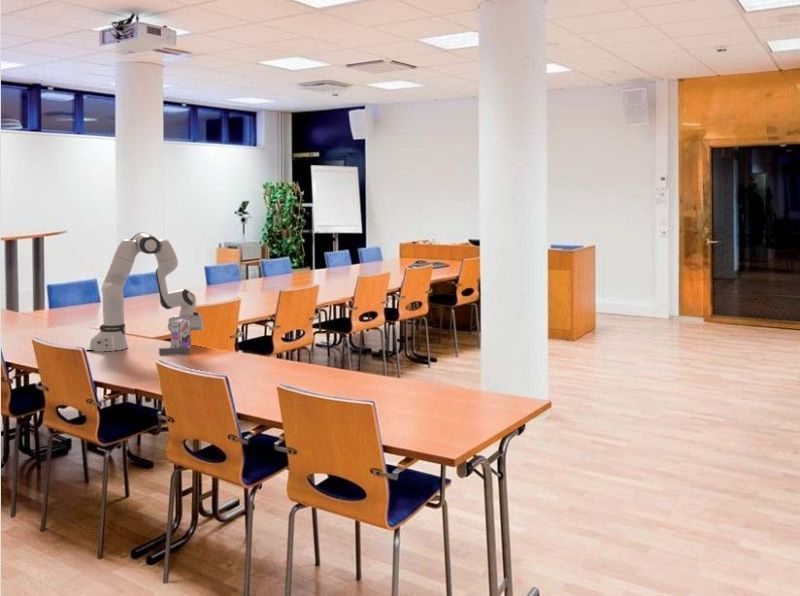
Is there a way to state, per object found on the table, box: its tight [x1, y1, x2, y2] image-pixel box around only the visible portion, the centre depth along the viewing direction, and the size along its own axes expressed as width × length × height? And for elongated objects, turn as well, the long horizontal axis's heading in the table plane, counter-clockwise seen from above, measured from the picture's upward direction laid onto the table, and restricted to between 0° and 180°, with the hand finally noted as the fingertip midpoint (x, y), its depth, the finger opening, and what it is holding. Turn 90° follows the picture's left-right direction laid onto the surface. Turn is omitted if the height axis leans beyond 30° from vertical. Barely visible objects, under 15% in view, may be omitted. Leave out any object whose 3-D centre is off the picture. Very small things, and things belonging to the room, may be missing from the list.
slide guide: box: [158, 344, 192, 355], centre depth 417 cm, size 16×19×4 cm
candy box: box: [170, 319, 192, 348], centre depth 425 cm, size 14×6×16 cm, turn 170°
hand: (184, 335), depth 436 cm, fingers closed
